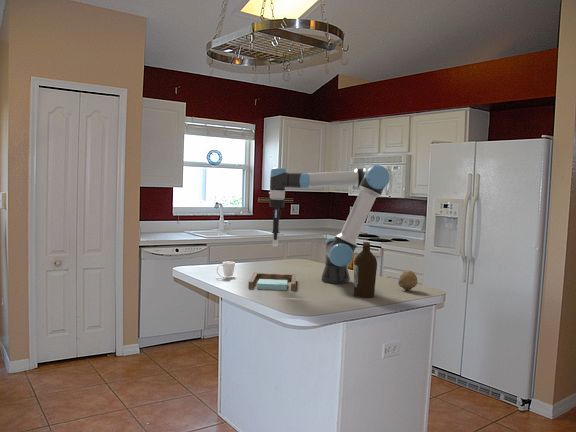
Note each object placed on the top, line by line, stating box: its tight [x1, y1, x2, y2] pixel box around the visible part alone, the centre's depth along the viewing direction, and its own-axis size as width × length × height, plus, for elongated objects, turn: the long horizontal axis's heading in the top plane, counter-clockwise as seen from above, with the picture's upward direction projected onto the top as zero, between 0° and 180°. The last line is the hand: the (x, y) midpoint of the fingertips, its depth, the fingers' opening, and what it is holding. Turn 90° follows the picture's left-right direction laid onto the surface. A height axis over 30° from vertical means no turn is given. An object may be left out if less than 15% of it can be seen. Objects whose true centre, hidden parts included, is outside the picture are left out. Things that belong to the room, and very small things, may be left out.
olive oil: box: [353, 241, 378, 299], centre depth 239 cm, size 11×11×25 cm
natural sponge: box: [397, 270, 419, 291], centre depth 256 cm, size 9×9×10 cm
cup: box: [216, 260, 236, 279], centre depth 271 cm, size 7×10×8 cm
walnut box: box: [247, 272, 297, 292], centre depth 254 cm, size 22×25×4 cm
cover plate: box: [256, 279, 288, 291], centre depth 248 cm, size 14×12×2 cm
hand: (275, 246), depth 259 cm, fingers closed
